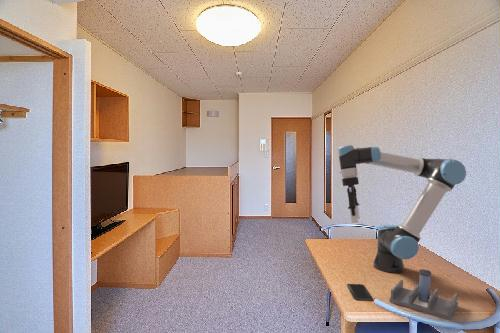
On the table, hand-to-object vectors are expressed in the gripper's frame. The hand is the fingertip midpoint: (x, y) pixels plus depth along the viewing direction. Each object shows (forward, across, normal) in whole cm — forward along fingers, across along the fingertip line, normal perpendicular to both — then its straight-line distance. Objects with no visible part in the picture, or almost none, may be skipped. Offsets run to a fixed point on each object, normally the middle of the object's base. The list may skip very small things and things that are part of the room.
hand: (355, 220), depth 155 cm
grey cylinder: (+32, +14, +23) cm, 42 cm away
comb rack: (+34, +14, +23) cm, 43 cm away
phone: (+30, +14, -2) cm, 33 cm away
